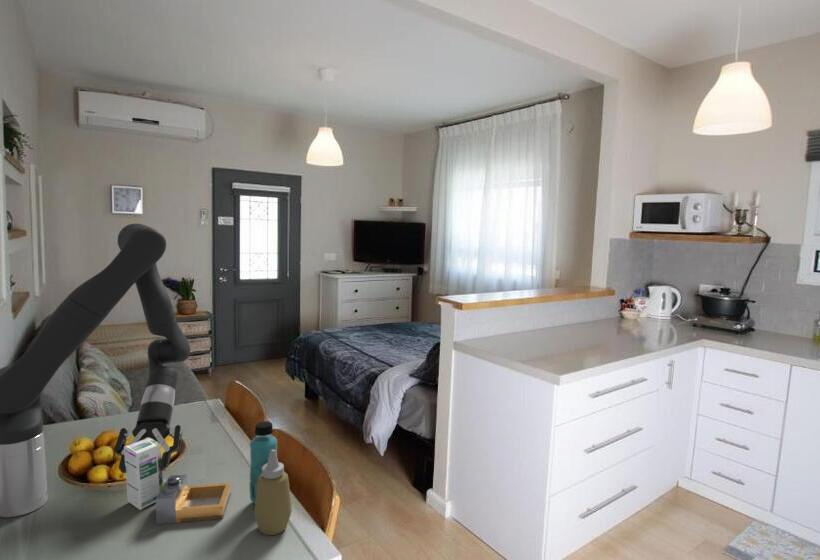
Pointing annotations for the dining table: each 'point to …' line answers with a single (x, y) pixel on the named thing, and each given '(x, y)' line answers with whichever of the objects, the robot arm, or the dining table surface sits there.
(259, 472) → the beverage bottle
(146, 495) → the syrup box
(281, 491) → the squeeze bottle
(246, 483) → the dining table surface
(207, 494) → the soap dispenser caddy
